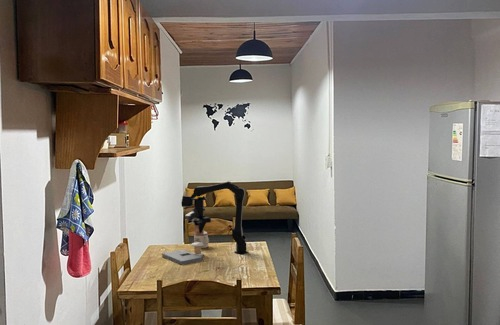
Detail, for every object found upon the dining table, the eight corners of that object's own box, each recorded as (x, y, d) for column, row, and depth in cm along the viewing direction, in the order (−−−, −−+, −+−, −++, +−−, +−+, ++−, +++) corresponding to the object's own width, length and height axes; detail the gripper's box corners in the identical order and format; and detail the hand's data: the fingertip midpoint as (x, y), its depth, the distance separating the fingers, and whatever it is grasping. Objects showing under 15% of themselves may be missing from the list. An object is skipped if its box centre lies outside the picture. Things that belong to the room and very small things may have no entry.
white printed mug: (191, 247, 304) (190, 229, 303) (202, 244, 310) (201, 227, 309) (203, 249, 295) (202, 231, 295) (214, 247, 302) (213, 229, 301)
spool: (205, 255, 281) (205, 243, 281) (195, 257, 277) (195, 245, 277) (199, 253, 287) (199, 241, 287) (189, 254, 283) (189, 243, 282)
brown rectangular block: (203, 235, 287) (203, 225, 286) (197, 236, 284) (197, 226, 284) (200, 234, 289) (200, 224, 289) (194, 235, 286) (194, 225, 286)
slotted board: (203, 260, 269) (203, 257, 269) (181, 264, 261) (181, 261, 261) (183, 252, 288) (183, 249, 288) (162, 256, 280) (162, 253, 280)
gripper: (179, 206, 288) (179, 231, 289) (195, 210, 273) (195, 236, 274) (195, 204, 295) (195, 229, 296) (211, 208, 280) (211, 234, 281)
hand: (199, 232), depth 287 cm, fingers closed on brown rectangular block, 3 cm apart
